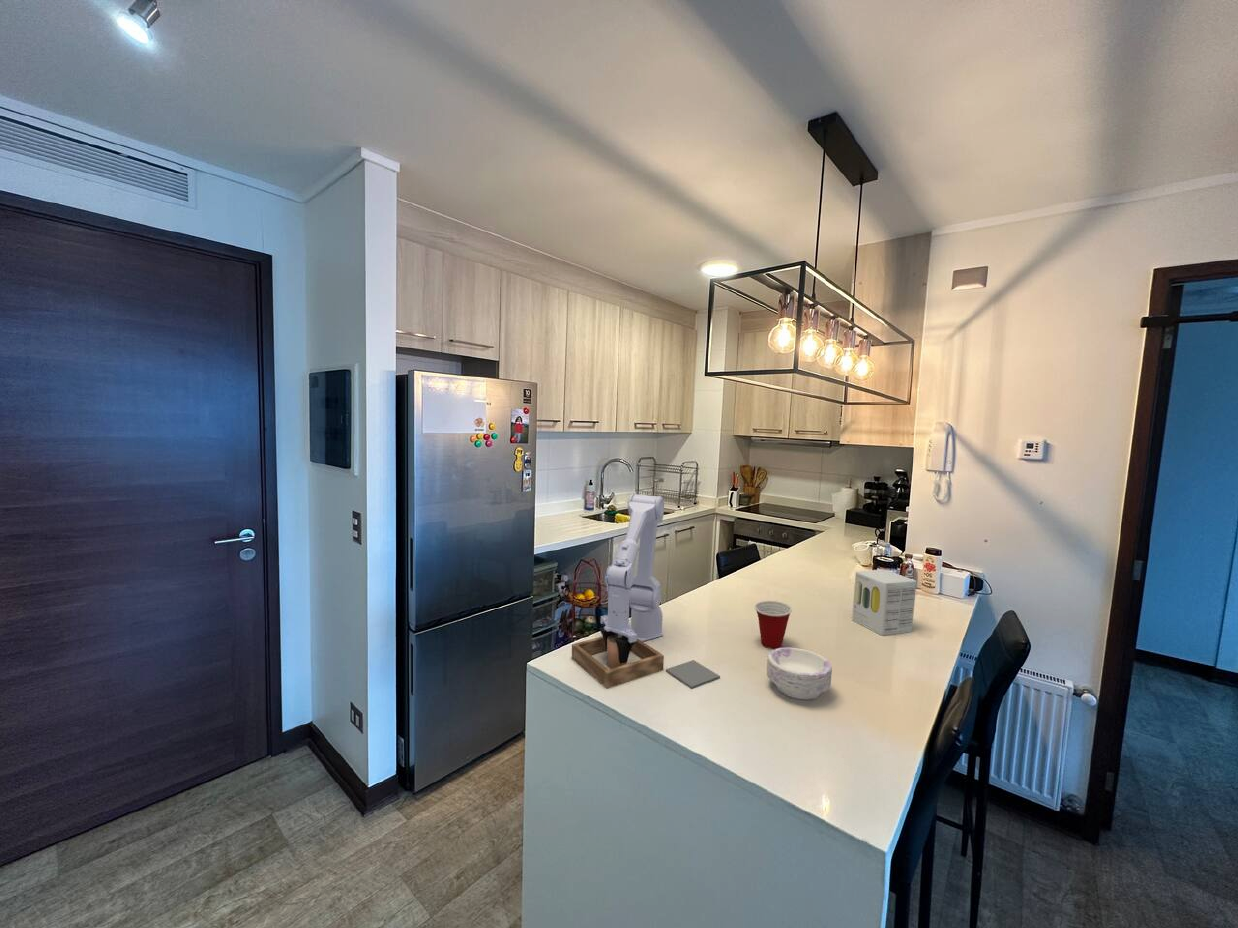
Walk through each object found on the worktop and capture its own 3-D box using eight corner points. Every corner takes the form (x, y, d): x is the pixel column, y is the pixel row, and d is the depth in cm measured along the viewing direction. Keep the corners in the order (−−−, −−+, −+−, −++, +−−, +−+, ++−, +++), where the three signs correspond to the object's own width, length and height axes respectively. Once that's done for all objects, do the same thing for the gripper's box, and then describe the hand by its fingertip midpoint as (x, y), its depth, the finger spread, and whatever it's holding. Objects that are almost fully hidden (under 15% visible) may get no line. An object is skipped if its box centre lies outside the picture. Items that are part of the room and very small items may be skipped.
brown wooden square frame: (624, 643, 145) (625, 630, 144) (663, 669, 130) (663, 655, 130) (571, 658, 135) (571, 644, 134) (606, 688, 120) (607, 672, 120)
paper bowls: (776, 668, 133) (778, 640, 132) (835, 687, 124) (838, 657, 124) (757, 692, 121) (759, 661, 120) (821, 715, 112) (824, 682, 111)
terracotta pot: (619, 657, 136) (620, 632, 136) (630, 665, 132) (631, 639, 131) (602, 661, 133) (603, 636, 132) (613, 670, 129) (614, 644, 128)
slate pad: (693, 661, 135) (693, 659, 135) (719, 678, 127) (720, 675, 127) (665, 671, 129) (665, 669, 129) (691, 688, 121) (691, 686, 121)
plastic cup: (745, 639, 151) (747, 601, 150) (773, 634, 154) (776, 598, 153) (767, 655, 140) (769, 615, 139) (797, 650, 144) (800, 611, 143)
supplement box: (850, 620, 169) (854, 570, 167) (880, 616, 173) (884, 568, 171) (882, 636, 156) (886, 583, 155) (913, 632, 160) (917, 580, 159)
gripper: (591, 603, 135) (590, 650, 136) (621, 621, 123) (619, 673, 124) (613, 598, 139) (611, 644, 140) (643, 616, 127) (641, 666, 128)
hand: (616, 657), depth 132 cm, fingers closed on terracotta pot, 5 cm apart
